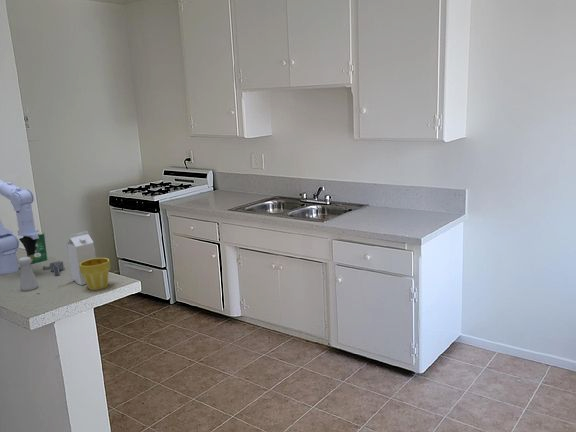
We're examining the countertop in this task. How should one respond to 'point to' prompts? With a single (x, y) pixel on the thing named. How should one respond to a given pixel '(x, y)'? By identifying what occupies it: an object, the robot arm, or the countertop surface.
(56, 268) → the knob
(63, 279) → the countertop surface
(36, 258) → the coffee box
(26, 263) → the salt shaker
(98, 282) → the plant pot
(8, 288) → the countertop surface
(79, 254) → the milk carton
